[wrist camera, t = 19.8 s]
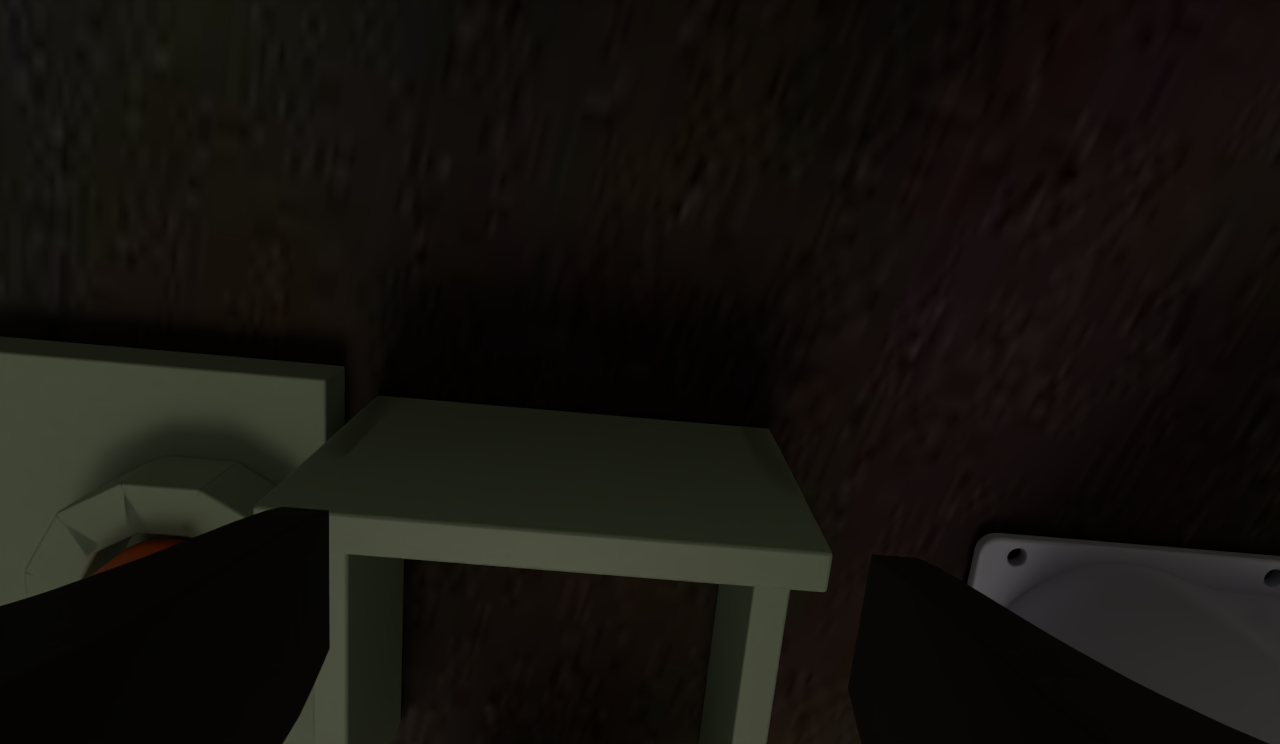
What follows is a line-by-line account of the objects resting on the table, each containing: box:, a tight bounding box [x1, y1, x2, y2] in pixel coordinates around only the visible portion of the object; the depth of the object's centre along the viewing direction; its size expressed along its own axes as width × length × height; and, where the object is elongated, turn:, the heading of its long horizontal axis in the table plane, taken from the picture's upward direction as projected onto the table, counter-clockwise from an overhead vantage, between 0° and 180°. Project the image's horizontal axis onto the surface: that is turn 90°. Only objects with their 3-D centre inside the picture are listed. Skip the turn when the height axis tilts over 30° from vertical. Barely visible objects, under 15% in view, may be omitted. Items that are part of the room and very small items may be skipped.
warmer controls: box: [0, 337, 345, 744], centre depth 20 cm, size 9×11×3 cm
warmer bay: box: [253, 396, 833, 744], centre depth 19 cm, size 10×10×7 cm
